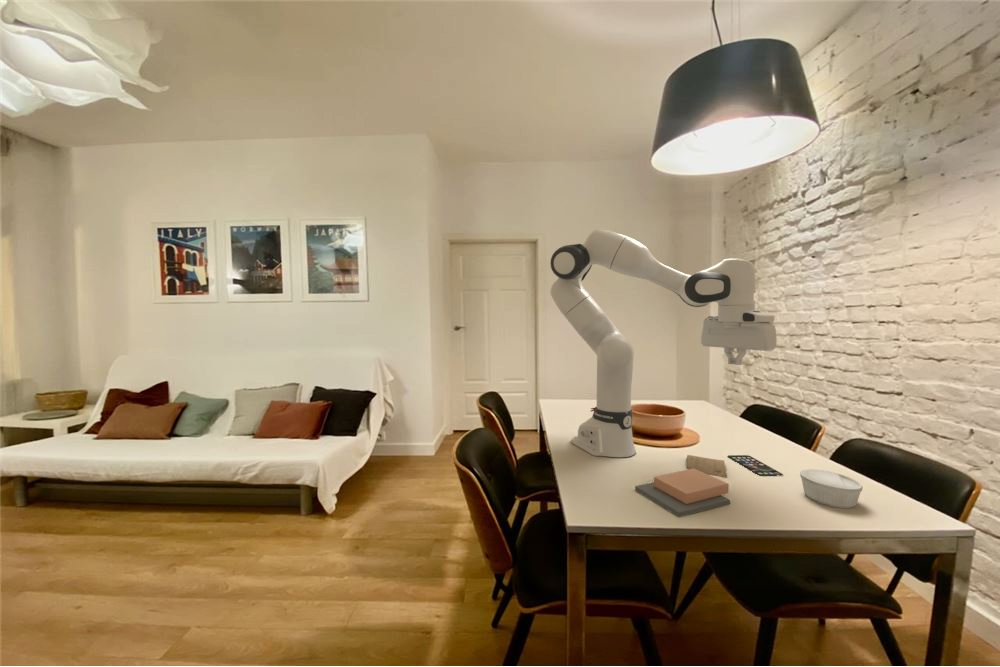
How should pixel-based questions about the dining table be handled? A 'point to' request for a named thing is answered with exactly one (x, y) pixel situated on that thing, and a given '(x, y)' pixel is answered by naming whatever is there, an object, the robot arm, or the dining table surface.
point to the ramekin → (830, 488)
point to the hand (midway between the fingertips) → (734, 364)
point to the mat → (677, 505)
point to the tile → (691, 485)
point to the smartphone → (754, 465)
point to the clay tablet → (707, 466)
